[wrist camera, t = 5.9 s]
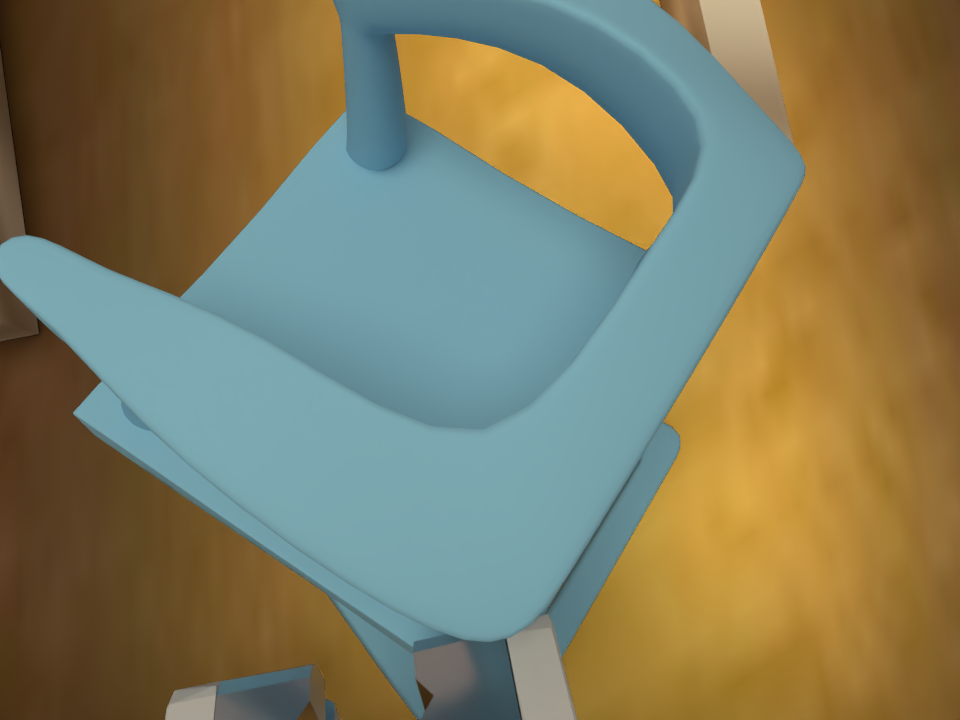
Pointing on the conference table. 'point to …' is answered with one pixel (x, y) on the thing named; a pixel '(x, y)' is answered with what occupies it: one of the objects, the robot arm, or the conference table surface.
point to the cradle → (693, 3)
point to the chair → (440, 334)
